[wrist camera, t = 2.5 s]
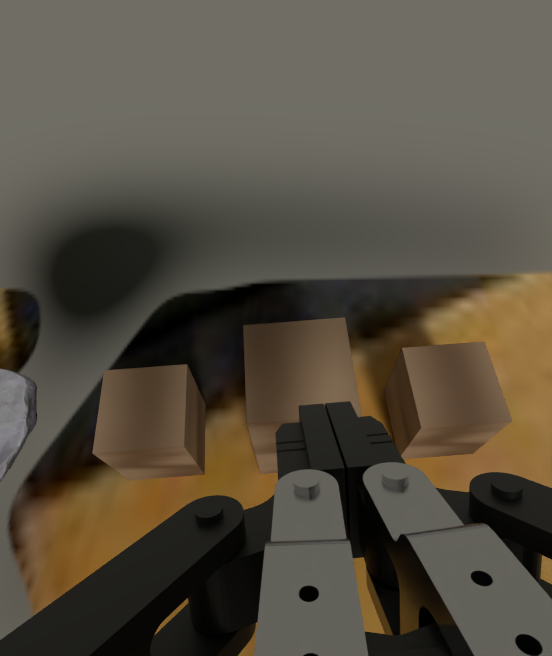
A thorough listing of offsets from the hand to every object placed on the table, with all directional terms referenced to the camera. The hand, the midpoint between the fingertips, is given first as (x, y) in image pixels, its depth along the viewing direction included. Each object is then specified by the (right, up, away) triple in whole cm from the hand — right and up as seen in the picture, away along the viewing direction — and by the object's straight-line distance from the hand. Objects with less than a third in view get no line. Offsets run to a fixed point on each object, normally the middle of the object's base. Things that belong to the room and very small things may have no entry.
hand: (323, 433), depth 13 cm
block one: (+9, -3, +19) cm, 21 cm away
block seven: (-9, -5, +18) cm, 21 cm away
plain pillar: (0, -4, +18) cm, 19 cm away
